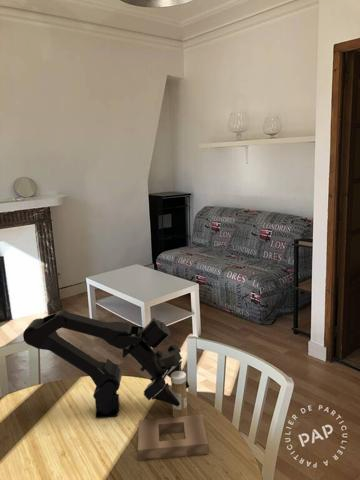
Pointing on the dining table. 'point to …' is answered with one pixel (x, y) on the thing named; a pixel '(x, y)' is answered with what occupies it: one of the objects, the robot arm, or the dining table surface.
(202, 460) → the dining table surface
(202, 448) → the socket block
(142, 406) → the dining table surface
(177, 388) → the sprinkles bottle
